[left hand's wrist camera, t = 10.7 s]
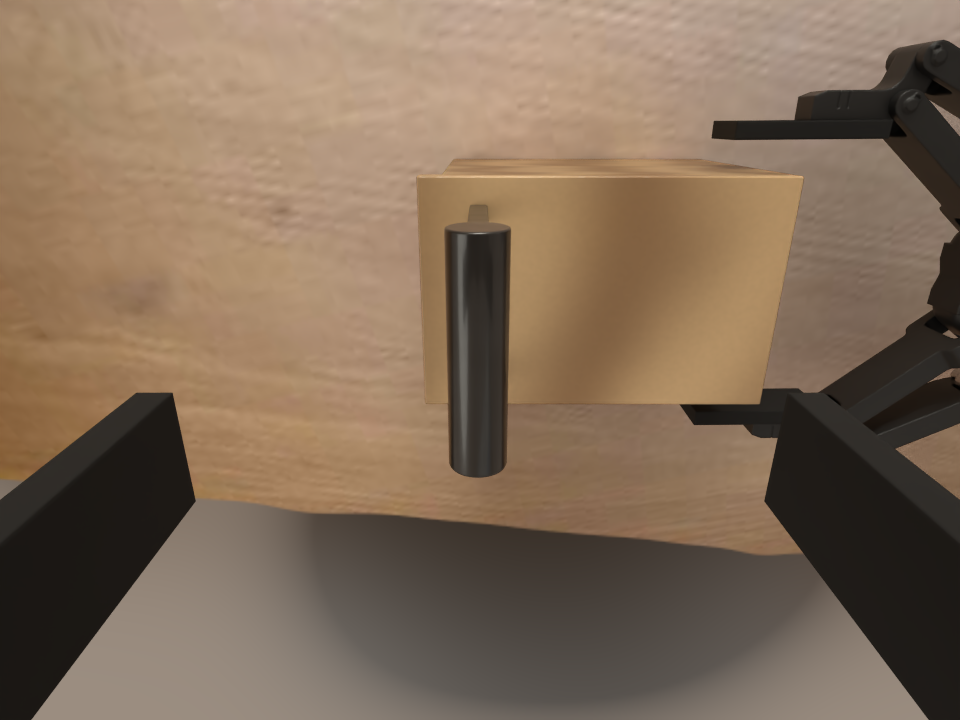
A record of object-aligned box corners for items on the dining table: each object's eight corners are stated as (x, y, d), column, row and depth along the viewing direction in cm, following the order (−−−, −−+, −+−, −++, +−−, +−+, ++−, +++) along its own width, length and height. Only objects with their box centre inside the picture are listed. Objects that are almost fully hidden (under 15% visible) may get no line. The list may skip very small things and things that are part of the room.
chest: (455, 323, 36) (446, 395, 27) (453, 159, 33) (441, 174, 23) (679, 323, 36) (751, 395, 27) (701, 159, 33) (793, 174, 23)
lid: (426, 396, 27) (405, 501, 19) (418, 174, 23) (388, 199, 16) (752, 396, 27) (856, 502, 19) (794, 174, 23) (942, 199, 16)
